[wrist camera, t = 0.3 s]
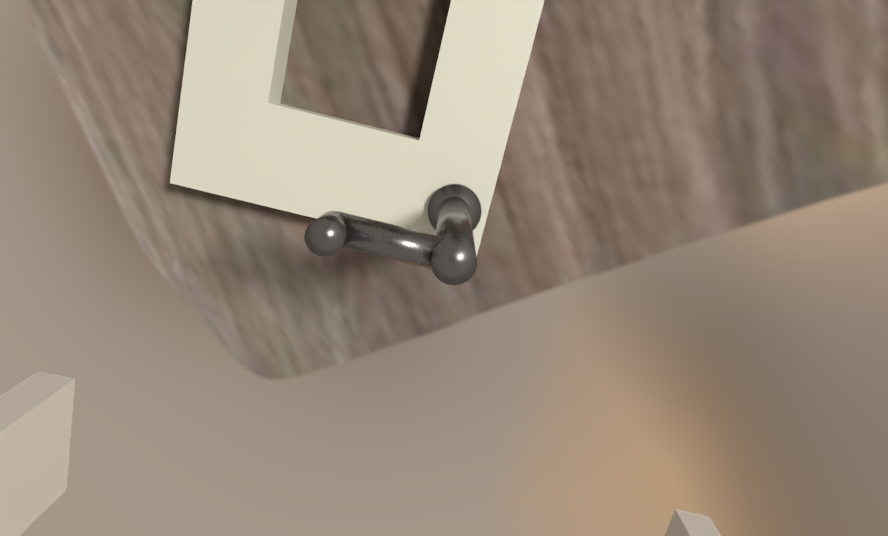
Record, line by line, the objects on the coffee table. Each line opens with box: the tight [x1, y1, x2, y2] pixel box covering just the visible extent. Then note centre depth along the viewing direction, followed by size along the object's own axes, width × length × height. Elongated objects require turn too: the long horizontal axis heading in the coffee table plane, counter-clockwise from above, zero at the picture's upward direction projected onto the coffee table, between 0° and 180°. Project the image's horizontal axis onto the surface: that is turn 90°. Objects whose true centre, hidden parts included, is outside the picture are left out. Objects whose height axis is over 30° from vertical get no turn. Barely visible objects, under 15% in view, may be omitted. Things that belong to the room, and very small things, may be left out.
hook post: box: [305, 184, 481, 285], centre depth 29 cm, size 3×7×14 cm, turn 76°
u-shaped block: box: [170, 0, 544, 257], centre depth 36 cm, size 15×19×2 cm
